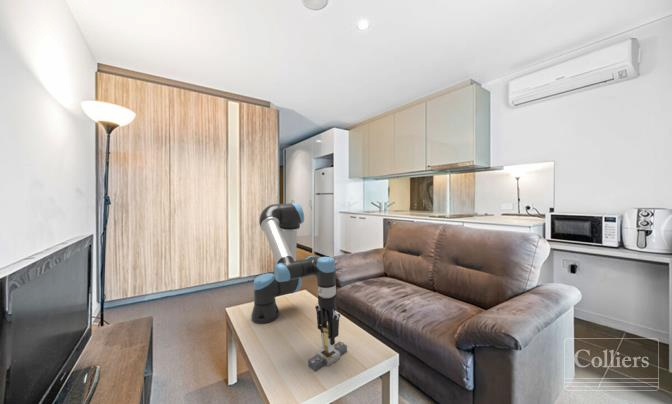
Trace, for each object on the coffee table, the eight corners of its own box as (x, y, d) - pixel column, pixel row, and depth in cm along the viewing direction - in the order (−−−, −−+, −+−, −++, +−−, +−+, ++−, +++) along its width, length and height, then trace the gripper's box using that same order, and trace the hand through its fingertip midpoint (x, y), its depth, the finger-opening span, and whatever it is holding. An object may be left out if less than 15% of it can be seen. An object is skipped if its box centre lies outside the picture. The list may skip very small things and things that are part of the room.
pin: (321, 358, 108) (320, 327, 107) (328, 353, 111) (328, 323, 110) (327, 363, 105) (327, 331, 104) (335, 358, 108) (334, 327, 107)
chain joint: (317, 373, 99) (316, 366, 99) (306, 364, 105) (305, 357, 104) (349, 352, 112) (349, 346, 111) (337, 345, 117) (337, 339, 117)
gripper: (308, 291, 110) (309, 344, 111) (333, 303, 98) (334, 362, 99) (321, 287, 115) (322, 337, 116) (347, 297, 103) (348, 353, 104)
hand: (328, 349), depth 108 cm, fingers closed on pin, 3 cm apart
